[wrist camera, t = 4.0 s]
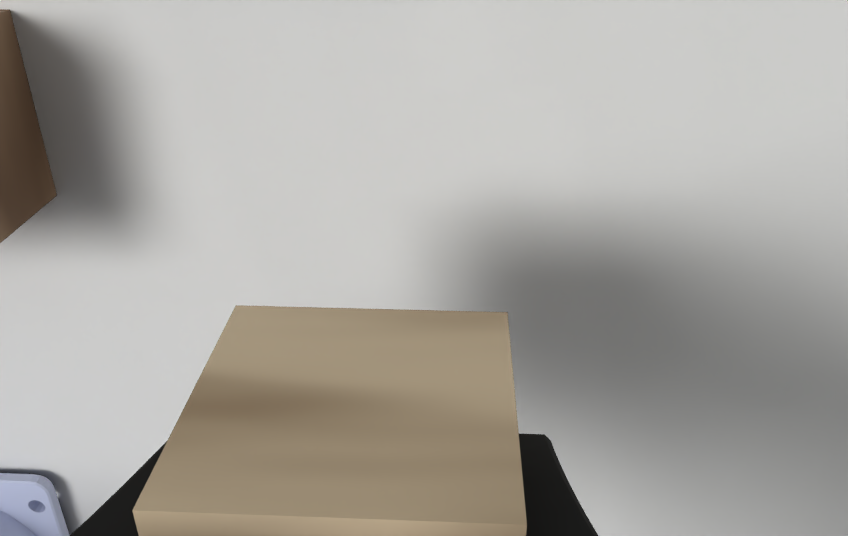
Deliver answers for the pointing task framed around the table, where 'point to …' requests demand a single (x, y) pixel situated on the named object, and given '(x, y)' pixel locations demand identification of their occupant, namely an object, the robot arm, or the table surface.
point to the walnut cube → (19, 140)
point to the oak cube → (345, 429)
